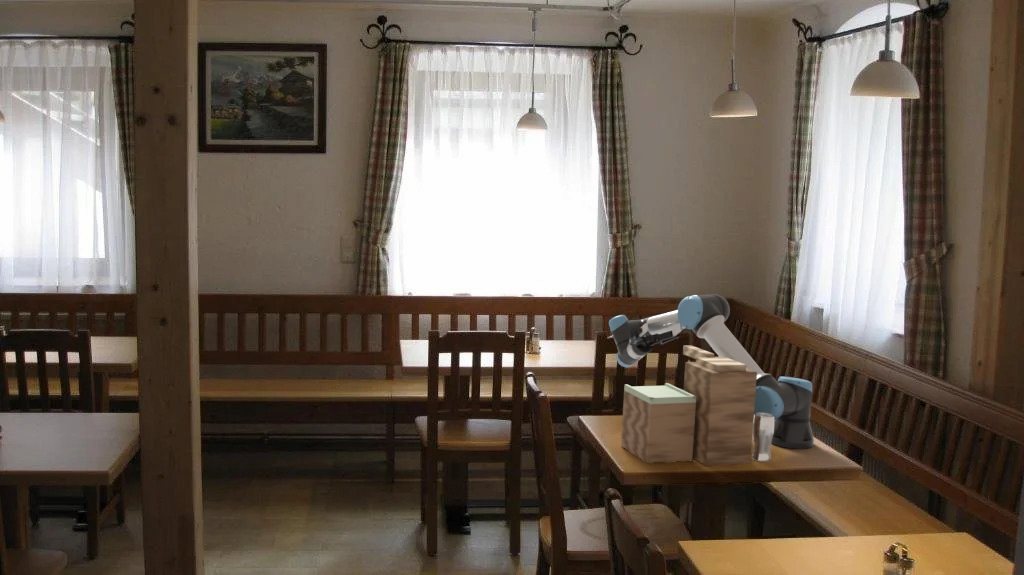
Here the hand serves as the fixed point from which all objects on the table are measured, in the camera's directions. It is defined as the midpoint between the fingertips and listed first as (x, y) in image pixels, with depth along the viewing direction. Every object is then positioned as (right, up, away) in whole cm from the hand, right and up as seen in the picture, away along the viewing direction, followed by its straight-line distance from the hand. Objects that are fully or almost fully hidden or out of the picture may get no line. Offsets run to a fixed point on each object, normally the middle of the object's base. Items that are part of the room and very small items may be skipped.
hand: (664, 326), depth 366 cm
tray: (-6, -22, -33) cm, 40 cm away
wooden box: (-7, -41, -30) cm, 51 cm away
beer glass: (+27, -43, -32) cm, 60 cm away
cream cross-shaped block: (+11, -11, -27) cm, 31 cm away
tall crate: (+12, -42, -31) cm, 53 cm away
